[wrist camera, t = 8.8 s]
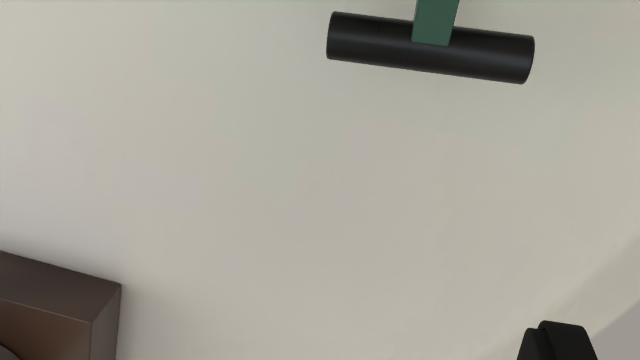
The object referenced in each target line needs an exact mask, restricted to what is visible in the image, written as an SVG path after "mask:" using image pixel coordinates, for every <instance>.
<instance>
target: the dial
mask: <svg viewBox="0 0 640 360" xmlns="http://www.w3.org/2000/svg"><path fill="white" fill-rule="evenodd" d="M0 360H20V359H19V358H18V357H17V356H16V355H15V354H13V353H12V352H11V351H9V350H8V349H7V348H5V347H3V346H1V345H0Z"/></svg>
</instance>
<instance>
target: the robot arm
mask: <svg viewBox="0 0 640 360" xmlns="http://www.w3.org/2000/svg"><path fill="white" fill-rule="evenodd" d="M517 360H598V359H597V357H596V354H595V351H594V349H593V347H592V344H591V342H590V339H589V337H588V335H587V332H586V331H585V329H584V328H583V327H582V326H578V325H572V324H565V323H559V322H552V321H546V320H544V321H542V322H541V323H540V324H539V326H538V329H534V328H528V329H527V330H526V331H525V334H524V337H523V340H522V344H521V347H520V350H519V354H518V357H517Z"/></svg>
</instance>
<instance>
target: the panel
mask: <svg viewBox="0 0 640 360" xmlns="http://www.w3.org/2000/svg"><path fill="white" fill-rule="evenodd" d="M120 293H121V285H120V284H117V283H114V282H110V281H106V280H103V279H99V278H95V277H92V276H88V275H85V274H81V273H77V272H74V271H70V270H66V269H63V268H59V267H55V266H52V265H48V264H44V263H41V262H37V261H33V260H30V259H26V258H23V257H19V256H15V255H12V254H8V253H4V252H1V251H0V345H1V346H3V347H5V348H7V349H8V350H9V351H11V352H12V353H13V354H15V355H16V356H17V357H18V358H19V359H20V360H115V352H116V340H117V328H118V317H119V305H120Z"/></svg>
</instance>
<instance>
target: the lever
mask: <svg viewBox="0 0 640 360" xmlns="http://www.w3.org/2000/svg"><path fill="white" fill-rule="evenodd" d="M458 4H459V0H417V2H416V8H415V13H414V19H413V21H408V20H400V19H392V18H384V17H376V16H368V15H360V14H352V13H344V12H336V11H334V12H333V13H332V15H331V18H330V23H329V28H328V36H327V47H326V55H327V58H328V59H331V60H339V61H346V62H354V63H362V64H369V65H377V66H384V67H392V68H400V69H407V70H415V71H422V72H430V73H437V74H445V75H453V76H460V77H468V78H475V79H483V80H491V81H498V82H506V83H513V84H524V83H525V82H526V80H527V78H528V76H529V74H530V71H531V67H532V63H533V59H534V52H535V41H534V38H533V37H532V36H529V35H521V34H513V33H505V32H497V31H489V30H481V29H473V28H465V27H457V26H453V25H454V21H455V17H456V13H457V9H458Z"/></svg>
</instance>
